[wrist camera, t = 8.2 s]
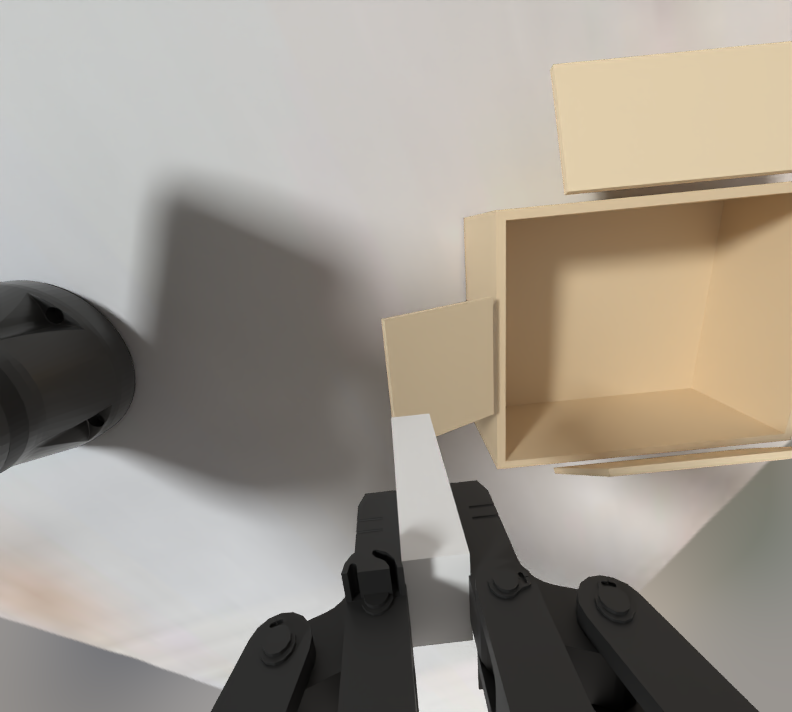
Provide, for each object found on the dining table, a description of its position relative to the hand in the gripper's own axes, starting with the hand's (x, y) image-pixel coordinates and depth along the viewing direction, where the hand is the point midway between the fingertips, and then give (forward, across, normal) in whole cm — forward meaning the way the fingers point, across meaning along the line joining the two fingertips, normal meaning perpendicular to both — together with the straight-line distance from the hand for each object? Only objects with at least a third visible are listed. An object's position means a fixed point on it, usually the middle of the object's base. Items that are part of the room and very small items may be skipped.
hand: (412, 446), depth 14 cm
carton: (+19, +18, 0) cm, 26 cm away
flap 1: (+8, +3, 0) cm, 8 cm away
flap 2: (+11, +18, +13) cm, 24 cm away
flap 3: (+6, +17, -7) cm, 20 cm away
